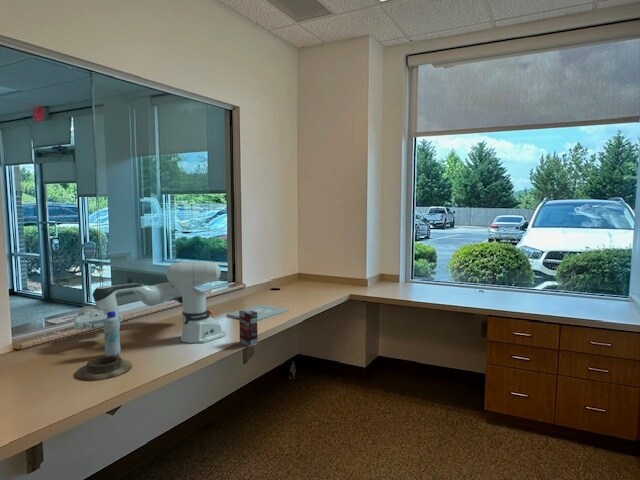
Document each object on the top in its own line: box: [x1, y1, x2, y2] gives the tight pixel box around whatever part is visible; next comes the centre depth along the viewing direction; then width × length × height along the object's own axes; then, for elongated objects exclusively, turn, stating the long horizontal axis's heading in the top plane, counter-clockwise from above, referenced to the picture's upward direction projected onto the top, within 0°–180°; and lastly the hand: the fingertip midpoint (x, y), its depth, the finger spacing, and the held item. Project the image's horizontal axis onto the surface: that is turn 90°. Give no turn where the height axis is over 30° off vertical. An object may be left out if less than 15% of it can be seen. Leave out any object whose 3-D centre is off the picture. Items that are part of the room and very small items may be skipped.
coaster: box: [75, 355, 133, 382], centre depth 167 cm, size 20×20×4 cm
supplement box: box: [238, 308, 258, 347], centre depth 200 cm, size 9×5×16 cm, turn 47°
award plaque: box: [226, 304, 290, 322], centre depth 257 cm, size 25×30×2 cm
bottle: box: [102, 311, 122, 356], centre depth 184 cm, size 7×7×20 cm
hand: (103, 324), depth 193 cm, fingers open, 8 cm apart
